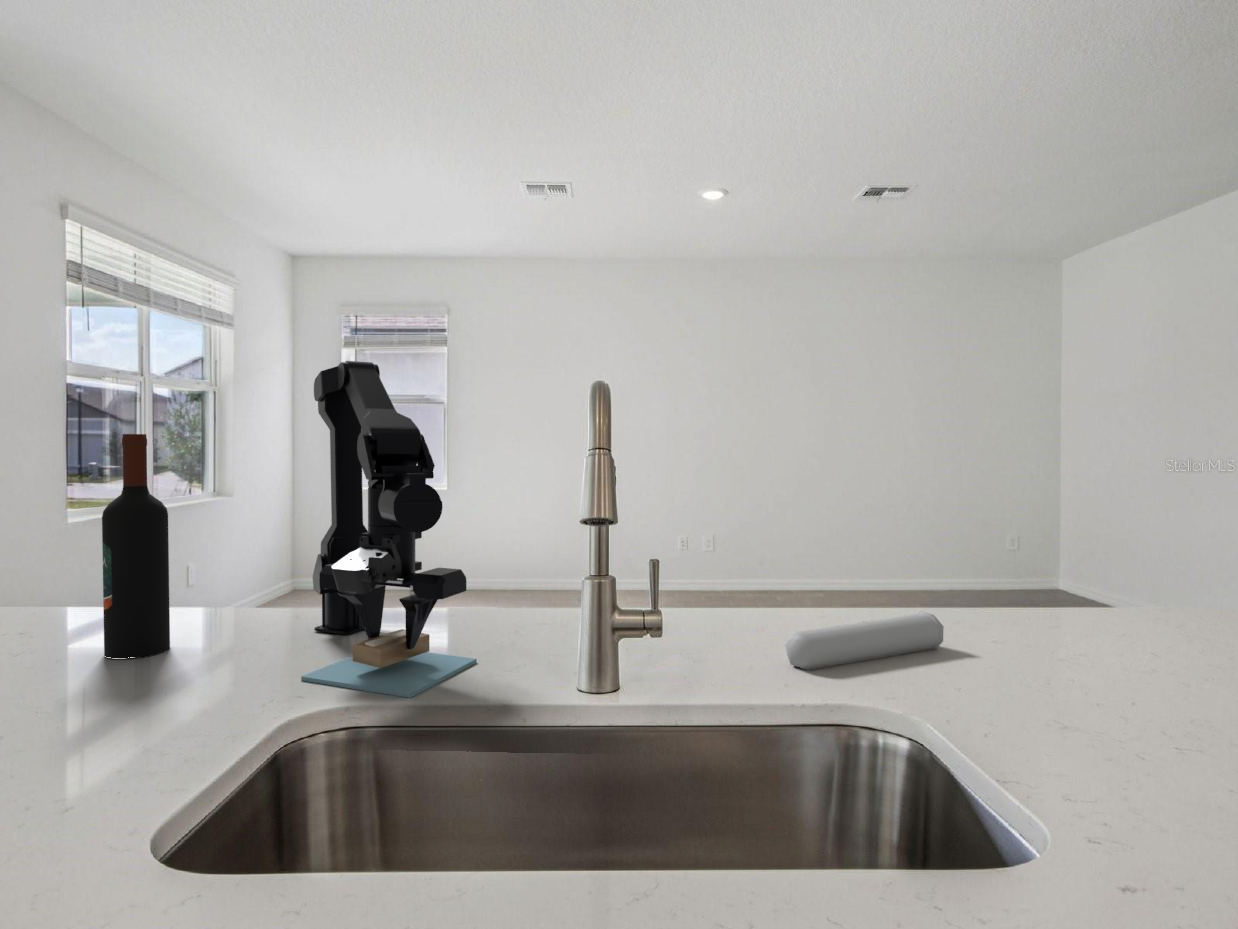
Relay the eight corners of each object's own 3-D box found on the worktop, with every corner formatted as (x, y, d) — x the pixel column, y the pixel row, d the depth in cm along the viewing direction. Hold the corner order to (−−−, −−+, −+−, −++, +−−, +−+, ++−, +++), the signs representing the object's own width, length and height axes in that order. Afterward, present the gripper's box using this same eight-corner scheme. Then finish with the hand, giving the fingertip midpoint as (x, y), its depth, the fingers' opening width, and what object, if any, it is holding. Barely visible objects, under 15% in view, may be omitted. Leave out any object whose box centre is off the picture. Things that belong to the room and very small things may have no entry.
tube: (808, 647, 89) (948, 624, 100) (782, 624, 94) (920, 605, 104) (799, 682, 91) (938, 656, 102) (774, 658, 96) (910, 636, 106)
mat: (301, 680, 87) (301, 676, 87) (378, 649, 100) (378, 645, 100) (410, 698, 81) (410, 693, 81) (476, 662, 94) (476, 658, 94)
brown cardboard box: (402, 645, 95) (402, 626, 95) (429, 651, 93) (429, 632, 92) (352, 661, 88) (352, 641, 88) (380, 668, 86) (380, 647, 86)
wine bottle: (137, 661, 94) (133, 433, 93) (89, 657, 95) (85, 433, 94) (183, 645, 101) (180, 434, 100) (138, 642, 103) (135, 434, 102)
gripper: (284, 527, 86) (285, 655, 86) (413, 535, 79) (414, 674, 80) (349, 518, 96) (350, 632, 96) (468, 524, 89) (468, 647, 90)
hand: (392, 646), depth 90 cm, fingers closed on brown cardboard box, 5 cm apart
